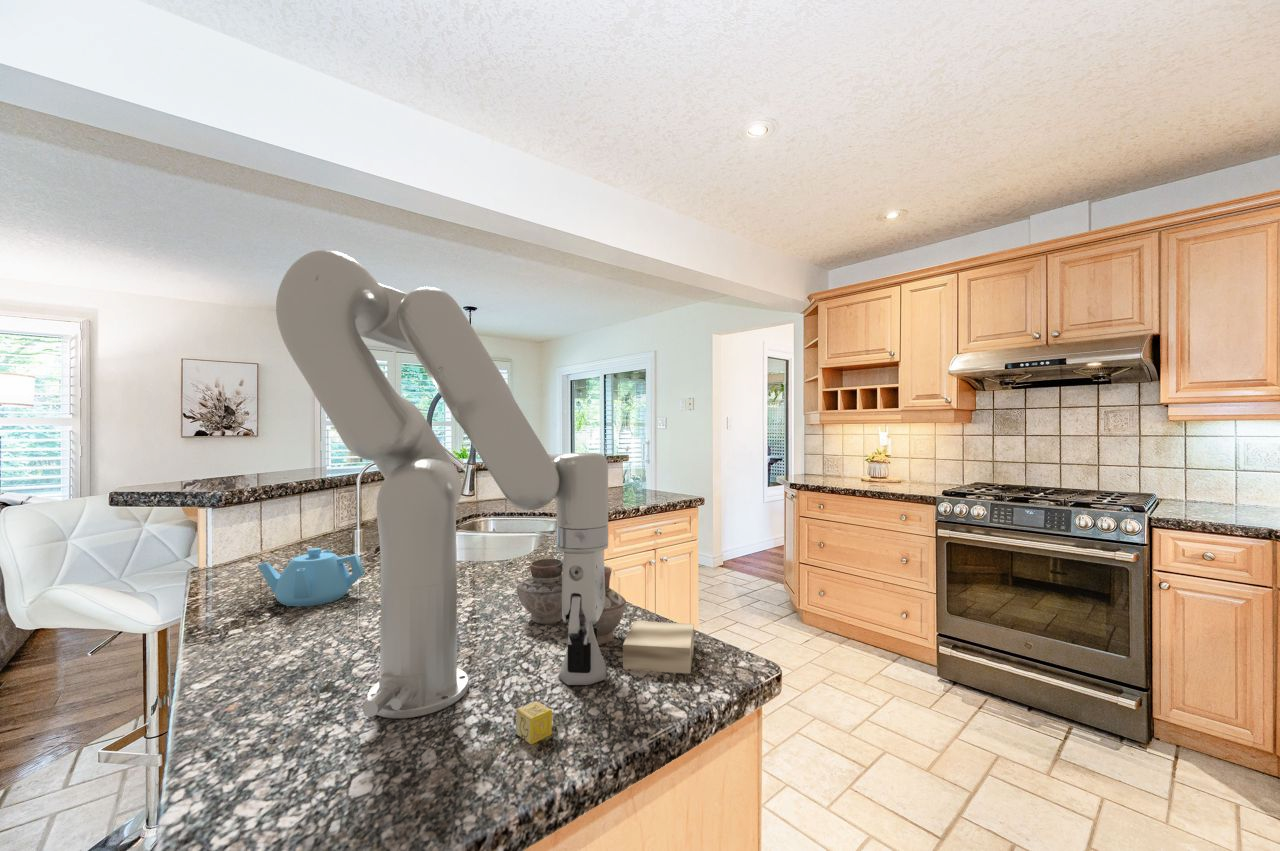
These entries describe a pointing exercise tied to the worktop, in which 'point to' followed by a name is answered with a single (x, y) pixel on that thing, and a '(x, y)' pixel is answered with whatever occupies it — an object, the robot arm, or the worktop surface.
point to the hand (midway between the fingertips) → (582, 661)
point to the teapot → (313, 578)
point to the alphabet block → (533, 722)
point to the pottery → (546, 598)
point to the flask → (597, 664)
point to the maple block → (659, 647)
